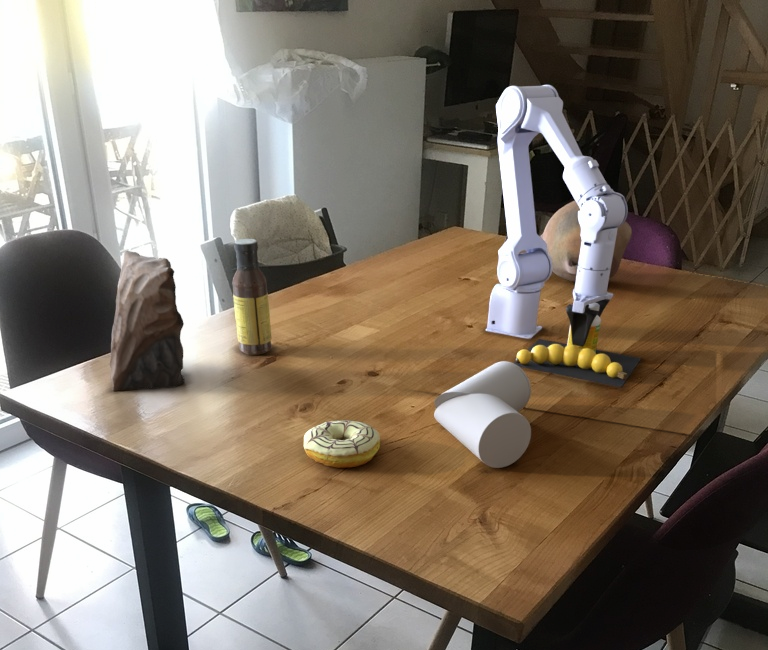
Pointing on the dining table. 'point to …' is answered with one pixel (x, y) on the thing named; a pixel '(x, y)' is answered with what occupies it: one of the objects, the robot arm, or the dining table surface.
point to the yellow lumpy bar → (571, 358)
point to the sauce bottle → (251, 300)
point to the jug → (575, 242)
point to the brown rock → (146, 326)
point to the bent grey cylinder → (489, 413)
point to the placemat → (584, 374)
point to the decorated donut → (342, 443)
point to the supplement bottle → (590, 331)
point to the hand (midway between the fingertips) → (582, 340)
